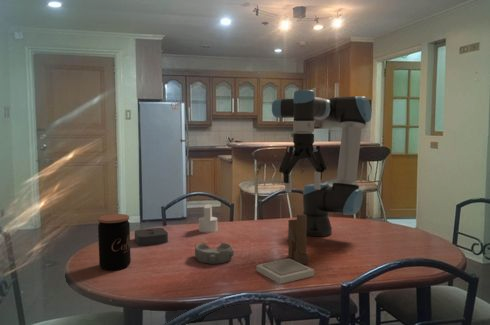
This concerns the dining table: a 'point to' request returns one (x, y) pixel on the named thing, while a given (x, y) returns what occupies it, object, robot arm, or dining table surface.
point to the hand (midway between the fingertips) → (303, 190)
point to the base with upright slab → (208, 221)
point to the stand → (285, 270)
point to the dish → (213, 253)
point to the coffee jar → (114, 242)
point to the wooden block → (298, 239)
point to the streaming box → (151, 236)
